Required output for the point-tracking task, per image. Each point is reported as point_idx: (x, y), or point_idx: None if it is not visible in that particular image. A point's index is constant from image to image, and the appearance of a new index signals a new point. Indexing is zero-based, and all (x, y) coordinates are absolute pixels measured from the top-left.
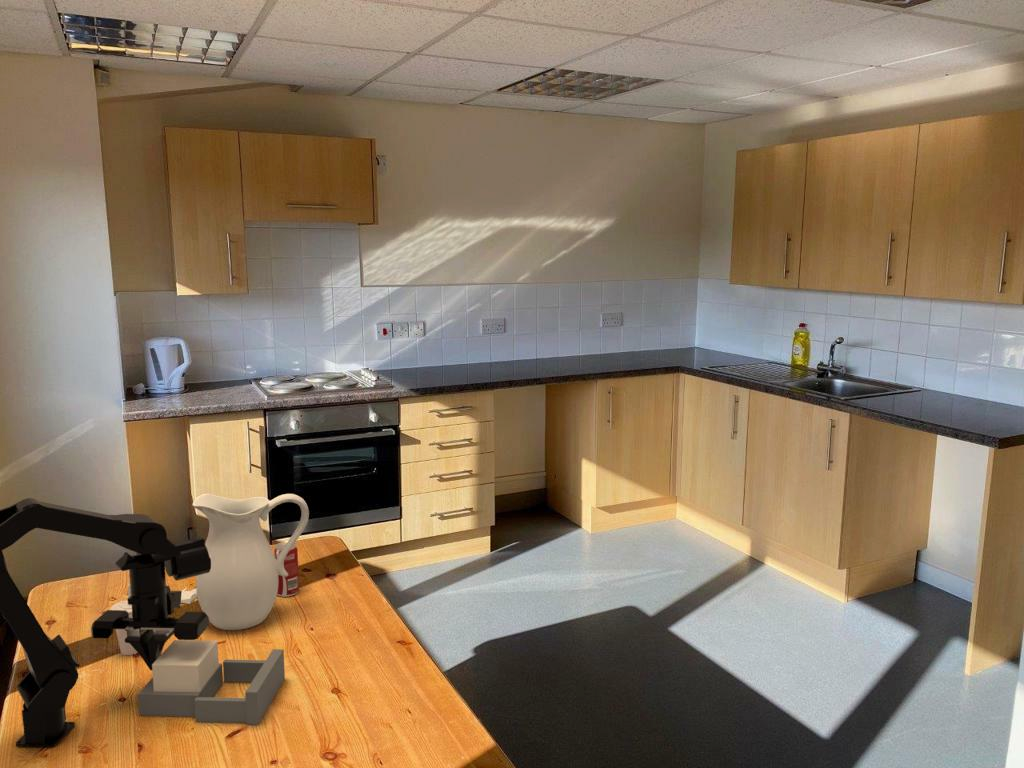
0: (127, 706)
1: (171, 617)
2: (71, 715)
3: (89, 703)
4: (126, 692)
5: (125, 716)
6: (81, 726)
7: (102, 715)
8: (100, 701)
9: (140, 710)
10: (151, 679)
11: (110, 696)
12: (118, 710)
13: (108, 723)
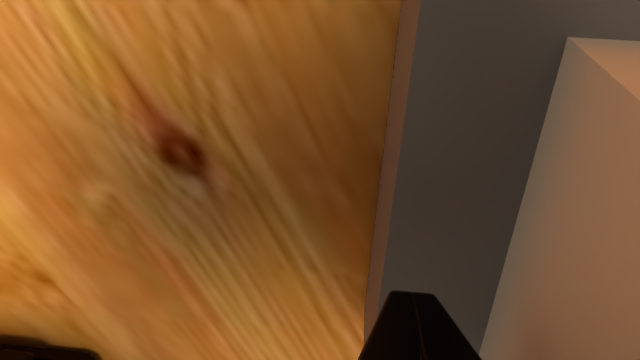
0: (255, 226)
1: None
2: (12, 281)
3: (14, 187)
4: (157, 73)
5: (293, 307)
6: (128, 356)
7: (168, 291)
8: (62, 170)
9: None
10: (387, 272)
11: (82, 119)
12: (226, 258)
13: (239, 348)
